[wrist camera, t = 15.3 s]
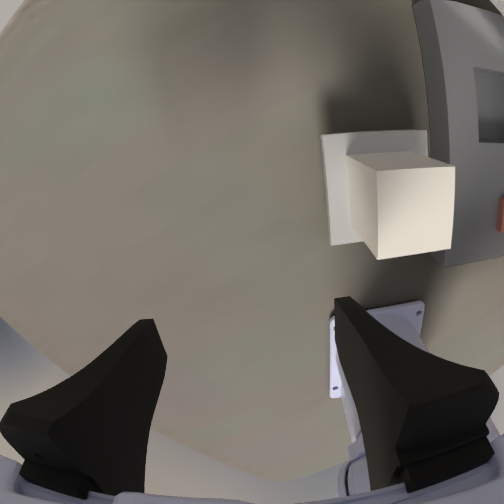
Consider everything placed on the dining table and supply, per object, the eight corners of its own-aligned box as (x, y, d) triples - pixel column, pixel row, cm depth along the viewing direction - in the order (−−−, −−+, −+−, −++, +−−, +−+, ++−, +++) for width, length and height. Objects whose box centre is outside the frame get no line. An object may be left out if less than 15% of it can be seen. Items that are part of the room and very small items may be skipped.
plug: (409, 219, 21) (465, 267, 14) (322, 229, 21) (352, 286, 14) (407, 127, 18) (474, 140, 11) (313, 132, 19) (346, 144, 12)
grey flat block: (523, 236, 21) (544, 251, 18) (427, 252, 22) (447, 271, 19) (519, 31, 14) (543, 28, 11) (411, 5, 15) (433, -7, 12)
